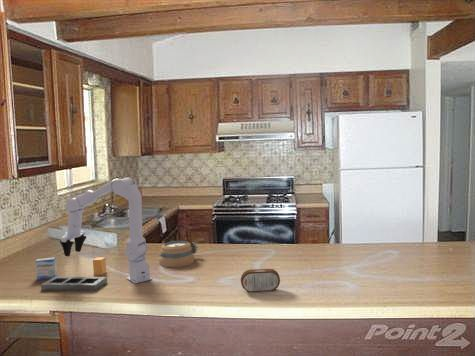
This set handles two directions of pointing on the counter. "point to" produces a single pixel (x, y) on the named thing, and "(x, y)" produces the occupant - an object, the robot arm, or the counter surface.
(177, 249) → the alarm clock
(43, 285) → the gray board with holes
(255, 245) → the counter surface
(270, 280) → the brown portable speaker
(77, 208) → the robot arm
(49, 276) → the medicine box
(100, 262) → the square block
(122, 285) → the counter surface
